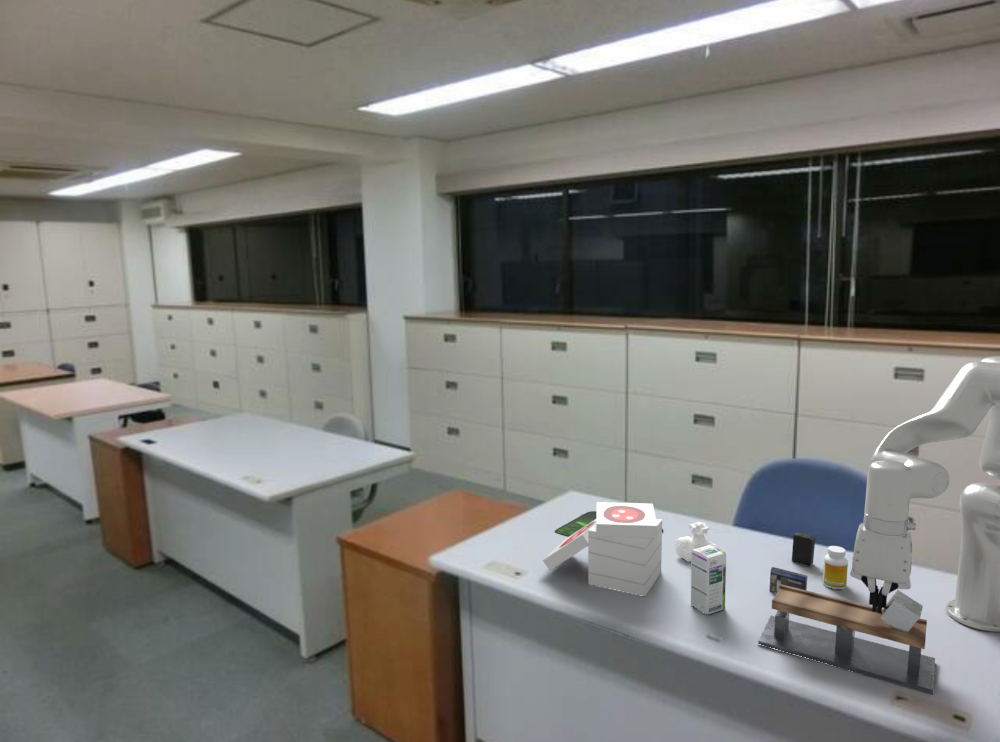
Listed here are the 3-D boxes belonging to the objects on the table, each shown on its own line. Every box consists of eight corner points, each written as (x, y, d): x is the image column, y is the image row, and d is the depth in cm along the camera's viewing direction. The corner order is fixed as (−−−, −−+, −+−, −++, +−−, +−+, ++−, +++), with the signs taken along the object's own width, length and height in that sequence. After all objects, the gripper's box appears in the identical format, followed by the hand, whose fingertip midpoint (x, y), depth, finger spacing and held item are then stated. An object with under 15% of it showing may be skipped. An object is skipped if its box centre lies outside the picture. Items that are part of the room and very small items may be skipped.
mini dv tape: (769, 591, 170) (770, 569, 169) (771, 589, 171) (772, 566, 170) (804, 601, 165) (805, 577, 164) (806, 598, 166) (807, 575, 165)
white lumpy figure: (719, 571, 185) (726, 531, 189) (713, 564, 179) (721, 523, 184) (675, 561, 192) (684, 523, 196) (669, 554, 186) (678, 515, 190)
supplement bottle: (849, 591, 169) (851, 554, 167) (825, 589, 170) (828, 553, 168) (842, 580, 174) (845, 545, 172) (820, 579, 175) (822, 543, 173)
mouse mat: (551, 533, 208) (551, 530, 208) (589, 511, 225) (589, 508, 225) (630, 557, 191) (630, 553, 191) (665, 531, 208) (665, 528, 207)
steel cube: (908, 623, 137) (922, 606, 135) (905, 634, 133) (920, 617, 131) (883, 607, 139) (897, 589, 137) (880, 617, 135) (894, 600, 133)
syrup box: (707, 616, 159) (709, 558, 156) (689, 604, 164) (691, 548, 162) (725, 609, 162) (727, 552, 159) (707, 598, 167) (709, 543, 164)
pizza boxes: (567, 549, 196) (567, 489, 193) (671, 570, 182) (672, 506, 178) (538, 577, 180) (537, 513, 176) (650, 603, 165) (651, 533, 162)
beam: (925, 630, 138) (927, 619, 138) (924, 653, 131) (925, 641, 130) (780, 593, 153) (780, 583, 153) (770, 612, 146) (771, 601, 145)
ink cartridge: (813, 564, 183) (815, 536, 182) (810, 567, 182) (812, 539, 180) (794, 558, 187) (796, 531, 185) (791, 561, 185) (793, 534, 184)
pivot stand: (934, 662, 139) (937, 627, 138) (932, 694, 130) (936, 657, 128) (770, 619, 157) (772, 588, 156) (758, 644, 147) (759, 611, 146)
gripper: (930, 525, 134) (921, 611, 137) (845, 510, 142) (839, 592, 145) (928, 538, 128) (919, 628, 131) (840, 521, 136) (833, 607, 139)
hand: (877, 609), depth 138 cm, fingers closed
